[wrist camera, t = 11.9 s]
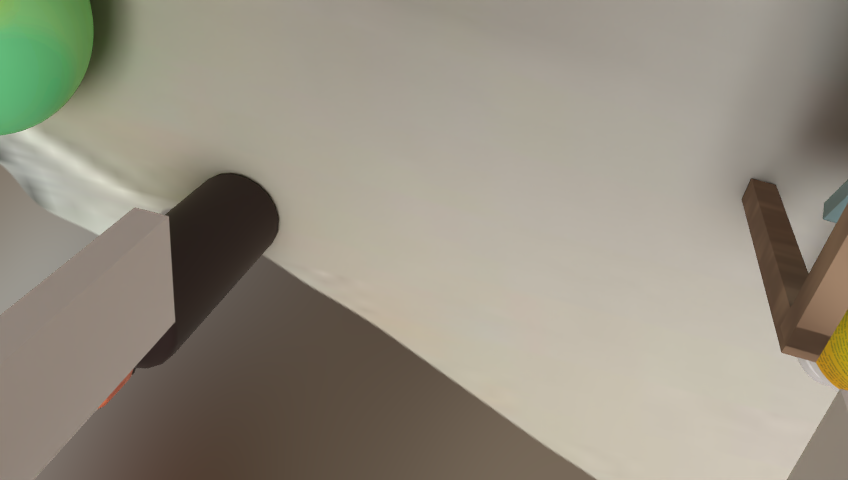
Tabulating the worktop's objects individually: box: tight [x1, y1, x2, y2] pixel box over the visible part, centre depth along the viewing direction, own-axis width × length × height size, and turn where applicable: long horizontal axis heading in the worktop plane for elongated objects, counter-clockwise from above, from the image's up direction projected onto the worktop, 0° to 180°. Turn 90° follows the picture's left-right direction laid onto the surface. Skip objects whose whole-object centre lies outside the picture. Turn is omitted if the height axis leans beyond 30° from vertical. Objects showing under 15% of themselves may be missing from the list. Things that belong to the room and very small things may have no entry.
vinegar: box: [98, 174, 278, 409], centre depth 49 cm, size 7×7×20 cm
